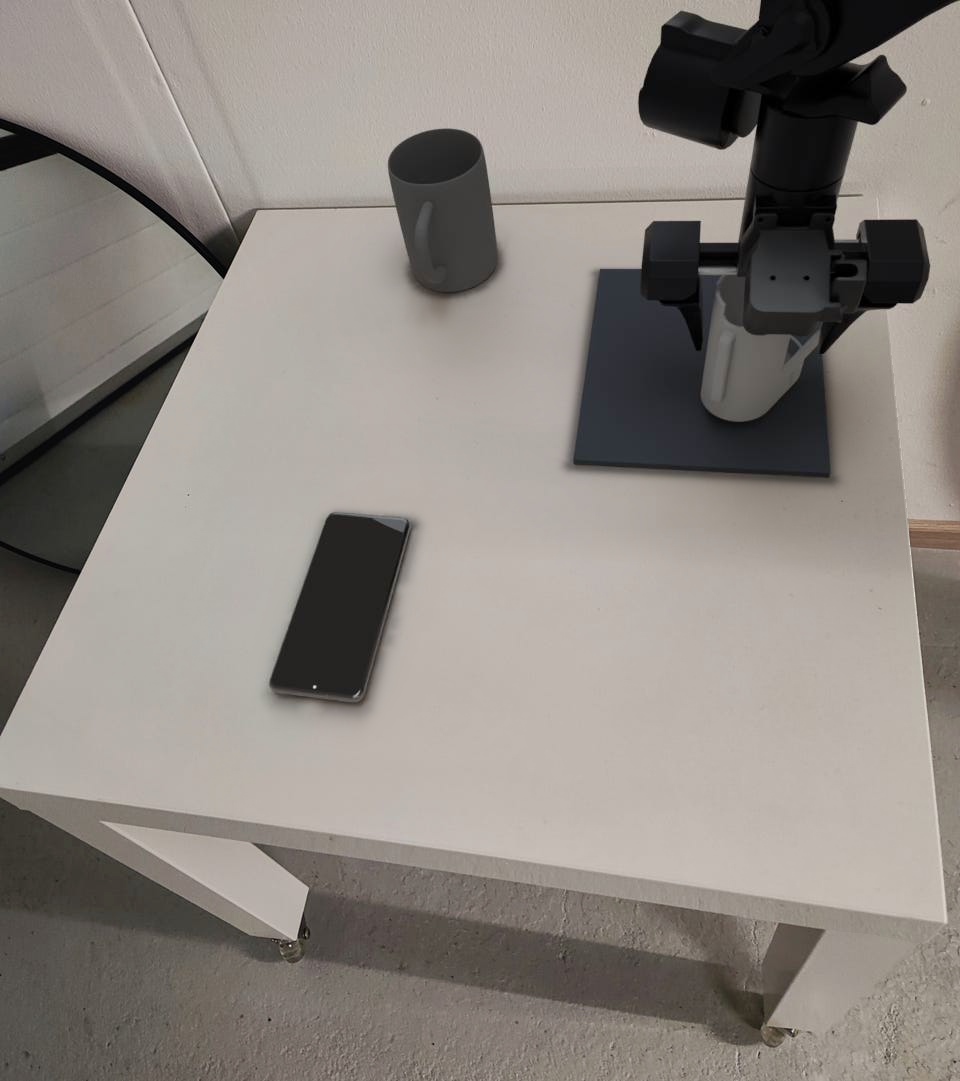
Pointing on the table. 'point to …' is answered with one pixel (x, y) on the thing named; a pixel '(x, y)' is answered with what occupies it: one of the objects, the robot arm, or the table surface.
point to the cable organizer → (746, 359)
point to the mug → (444, 208)
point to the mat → (684, 396)
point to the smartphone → (341, 608)
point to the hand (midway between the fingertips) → (758, 348)
